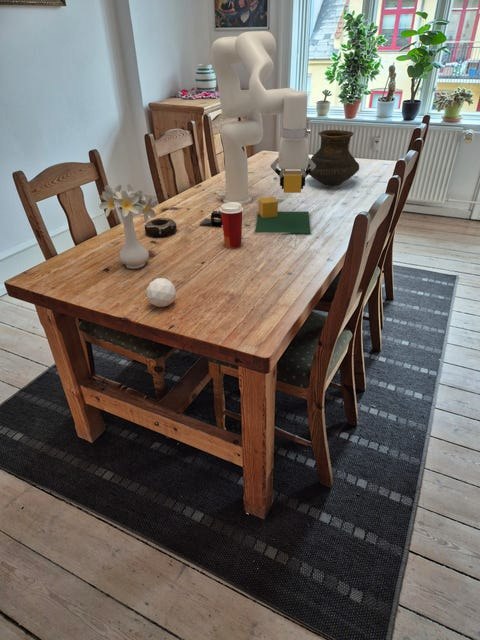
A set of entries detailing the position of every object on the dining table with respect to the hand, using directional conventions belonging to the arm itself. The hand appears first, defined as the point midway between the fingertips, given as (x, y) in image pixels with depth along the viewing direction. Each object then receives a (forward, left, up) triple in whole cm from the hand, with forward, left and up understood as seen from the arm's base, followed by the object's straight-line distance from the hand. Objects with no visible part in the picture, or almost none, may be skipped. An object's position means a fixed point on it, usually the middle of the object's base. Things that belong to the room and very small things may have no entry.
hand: (292, 187), depth 155 cm
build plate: (-28, +5, -15) cm, 32 cm away
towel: (-3, +6, -15) cm, 17 cm away
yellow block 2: (0, 0, -1) cm, 1 cm away
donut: (-48, -4, -15) cm, 51 cm away
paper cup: (-20, -15, -15) cm, 30 cm away
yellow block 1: (-9, +13, -15) cm, 21 cm away
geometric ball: (-35, -55, -15) cm, 67 cm away
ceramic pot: (+19, +57, -15) cm, 62 cm away
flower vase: (-49, -31, -15) cm, 60 cm away
